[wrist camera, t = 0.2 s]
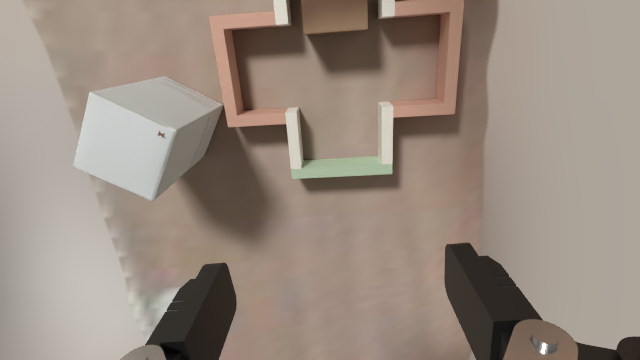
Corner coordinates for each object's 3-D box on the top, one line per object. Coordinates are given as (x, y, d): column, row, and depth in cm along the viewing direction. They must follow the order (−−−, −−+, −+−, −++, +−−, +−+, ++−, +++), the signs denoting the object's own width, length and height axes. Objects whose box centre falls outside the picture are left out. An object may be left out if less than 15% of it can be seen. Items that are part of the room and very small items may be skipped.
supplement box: (164, 73, 37) (87, 87, 26) (225, 105, 39) (179, 131, 27) (145, 131, 40) (68, 167, 28) (204, 158, 41) (153, 204, 29)
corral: (207, -53, 33) (195, -62, 30) (459, -76, 31) (471, -87, 29) (243, 172, 42) (237, 181, 39) (441, 162, 40) (449, 171, 37)
